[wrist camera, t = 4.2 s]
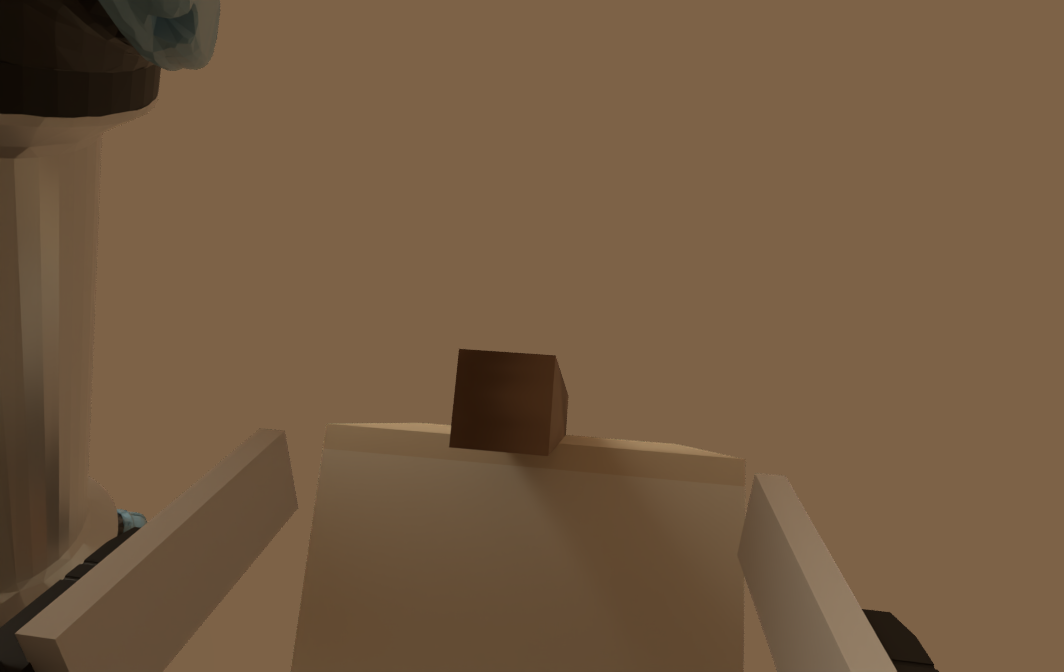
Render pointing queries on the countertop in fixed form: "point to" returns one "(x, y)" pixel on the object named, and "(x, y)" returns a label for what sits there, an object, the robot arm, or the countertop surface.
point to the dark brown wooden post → (508, 403)
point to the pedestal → (521, 557)
